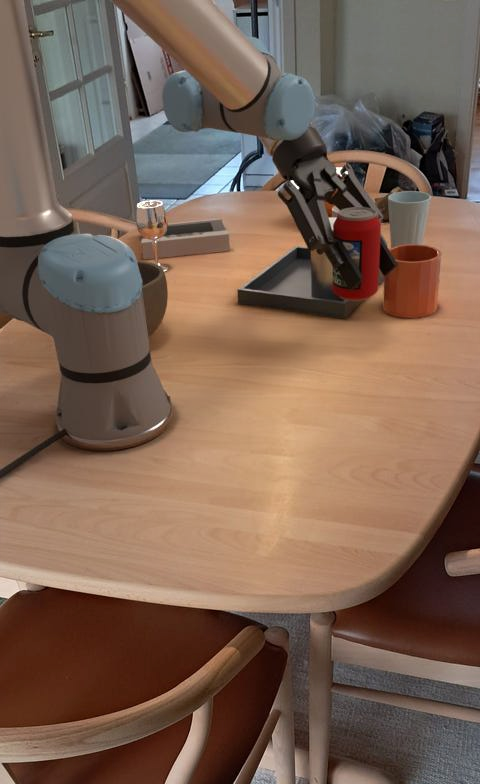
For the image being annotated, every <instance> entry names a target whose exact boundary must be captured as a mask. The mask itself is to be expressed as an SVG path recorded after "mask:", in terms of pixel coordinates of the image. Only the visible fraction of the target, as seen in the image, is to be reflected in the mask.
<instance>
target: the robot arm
mask: <svg viewBox="0 0 480 784" xmlns="http://www.w3.org/2000/svg"><path fill="white" fill-rule="evenodd" d="M109 1H110V2H111V3H112V4H113V5H114V6H115V7H116V8H117V9H118V10H120V11H121V13H123V14H124V15H125V16H126V17H127V18H128V19H129V20H130V21H131V22H133V24H135V26H137V28H139V29H140V30H141V31H142V32H143V33H144V34H146V35H147V36H148V37H149V38H150V39H151V40H152V41H153V42H154V43H155V44H156V45H157V46H158V47H160V49H161V50H163V52H165V53H166V54H167V55H168V56H169V57H170V58H172V60H174V62H176V63H177V64H178V66H180V67H181V68H182V69H184V70H180V71H177V72H173V73H171V74H169V76H168V77H167V78H166V79H165V81H164V84H163V86H162V91H161V99H162V108H163V112H164V115H165V118H166V120H167V121H168V123H169V124H170V125H171V126H172V128H173V129H174V130H176V131H177V132H179V133H189V132H195V133H197V132H199V131H200V130H204V129H212V130H217V131H218V130H219V131H224V132H230V133H235V134H244V135H249V136H254V137H257V138H258V139H259V141H260V142H261V144H262V146H263V148H264V149H265V151H266V153H267V154H268V155H269V156H270V157H272V159H271V161H272V163H273V165H274V166H275V168H276V170H277V171H278V173H279V174H280V176H281V178H282V179H283V180H284V181H285V182H284V184H283V185H282V186H281V188H280V189H279V190H278V191H277V197H278V198H279V199H280V200H281V201H282V202H283V203H284V204H285V206H286V208H287V209H288V211H289V213H290V215H291V218H292V219H293V221H294V223H295V225H296V227H297V229H298V231H299V233H300V235H301V237H302V239H303V241H304V243H305V246H306V247H308V249H309V250H311V251H314V250H315V249H317V250H316V252H317V253H318V254H320V255H322V254H323V253H325V254H326V256H327V258H328V259H329V261H330V263H331V264H332V266H333V267H334V268H335V269H337V270H338V271H339V273H340V275H341V276H342V278H343V280H344V281H345V283H346V285H347V286H348V288H349V289H350V290H352V289H354V288H355V287H356V286H357V285H358V284H359V283H360V282H361V281H362V280H363V279H364V278H363V276H362V274H361V273H360V271H359V269H358V268H357V266H356V265H355V263H354V261H353V260H352V258H351V256H350V255H349V253H348V251H347V250H346V248H345V246H344V245H343V243H342V241H341V240H338V241H336V242H335V243H334V241H335V238H334V235H333V231H332V228H331V224H330V221H329V218H328V214H327V211H326V207H325V204H324V200H326V201H327V202H328V203H329V204H331V205H335V206H336V207H337V208H338V209H339V210H342V209H345V208H351V207H367V208H371V209H374V210H375V211H376V215H377V216H378V218H379V221H380V223H382V221H383V220H384V219H383V218H384V217H383V215H382V213H381V212H380V210H379V209H378V208H377V206H376V205H375V201H373V199H372V198H371V196H370V195H369V193H368V192H367V190H366V189H365V188H364V187H363V185H362V183H361V182H360V180H359V179H358V178H357V177H356V174H355V171H354V170H353V166H352V165H351V164H350V163H348V162H346V163H345V164H344V165H343V166H342V167H340V166H339V167H337V166H336V165H335V164H334V163H333V162H332V161H331V160H330V159H329V158H328V147H327V145H326V143H325V141H324V139H323V137H322V136H321V135H320V133H319V131H318V130H317V128H315V127H313V126H314V125H313V121H312V120H313V117H314V114H315V106H316V103H315V102H316V101H315V94H314V92H313V89H312V86H311V85H310V82H308V80H306V79H305V78H304V77H302V76H299V75H296V74H293V73H291V72H284V73H283V72H282V71H281V69H280V67H279V65H278V62H277V61H276V58H275V57H274V56H273V55H272V54H271V53H270V51H269V50H268V49H267V47H266V46H265V44H264V43H263V41H261V40H260V39H259V38H257V37H254V36H246V35H245V34H244V32H242V30H240V28H239V27H237V25H236V24H235V23H234V22H233V21H232V19H230V18H229V17H228V15H227V14H225V12H224V11H222V9H221V8H220V7H219V6H218V5H217V4H216V2H215V1H214V0H109ZM27 19H28V18H27V12H26V7H25V1H24V0H0V311H2V312H3V313H4V314H5V315H8V316H10V317H12V318H13V319H15V320H17V321H21V322H24V323H26V324H28V325H30V326H32V327H33V328H36V329H37V330H40V331H41V332H43V333H45V334H48V335H50V336H51V337H52V338H53V339H52V340H53V342H54V348H55V351H56V357H57V362H58V366H59V371H60V382H59V391H58V399H57V408H56V415H55V416H56V418H55V422H56V427H57V430H58V432H56V433H54V434H53V435H52V436H50V437H48V438H47V439H45V440H43V441H42V442H40V443H39V444H37V445H36V446H34V447H33V448H32V449H30V450H28V451H27V452H25V453H24V454H22V455H21V456H19V457H18V458H16V459H14V460H13V461H12V462H10V463H8V464H7V465H5V466H4V467H3V468H1V469H0V479H1V478H3V477H4V476H5V475H7V474H8V473H10V472H12V471H13V470H14V469H16V468H17V467H19V466H20V465H22V464H24V463H25V462H27V461H28V460H29V459H31V458H33V457H34V456H36V455H37V454H39V453H40V452H42V451H43V450H44V449H46V448H48V447H49V446H51V445H53V444H54V443H55V442H57V441H59V440H60V439H62V440H63V441H65V442H66V443H67V444H69V445H71V446H74V447H76V448H80V449H83V450H88V451H89V450H90V451H116V450H117V451H118V450H124V449H128V448H132V447H136V446H139V445H142V444H145V443H147V442H149V441H151V440H153V439H155V438H157V437H158V436H160V435H161V434H163V432H165V431H166V430H167V429H168V428H169V426H170V425H171V423H172V421H173V409H172V408H173V407H172V402H171V396H170V395H168V393H167V392H166V390H165V389H164V386H163V384H162V382H161V380H160V377H159V375H158V373H157V371H156V368H155V367H154V365H153V362H152V354H151V349H150V341H149V337H148V332H147V324H146V317H145V309H144V301H143V294H142V278H141V275H140V271H139V267H138V263H137V261H138V260H137V256H136V255H135V252H134V251H133V250H132V248H131V247H130V246H129V245H128V244H127V243H125V242H123V241H121V240H120V239H118V238H115V237H113V236H110V235H104V234H97V235H93V234H92V233H76V231H75V225H74V218H73V215H72V213H71V212H70V211H68V210H67V209H66V208H65V207H64V206H62V205H61V204H60V202H59V201H58V196H57V191H56V184H55V179H54V173H53V167H52V160H51V156H50V150H49V142H48V137H47V132H46V126H45V119H44V113H43V108H42V102H41V101H42V100H41V96H40V90H39V89H40V88H39V84H38V83H39V82H38V78H37V72H36V65H35V60H34V54H33V47H32V42H31V38H30V31H29V25H28V20H27ZM336 190H338V191H337V192H336V193H335V195H333V193H334V192H335V191H336ZM312 236H313V237H314V238H312ZM388 246H389V245H388V242H387V241H386V239H385V238H384V236H383V234H382V233H381V235H380V259H379V269H380V270H381V272H382V274H383V275H384V276H386V275H388V274H389V273H390V272H391V271H392V270H393V269H394V268H395V267H396V266H397V265H398V264H397V262H396V260H395V259H394V257H393V255H392V254H391V252H390V250H389V249H390V248H389V247H388Z"/></svg>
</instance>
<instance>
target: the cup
mask: <svg viewBox="0 0 480 784" xmlns="http://www.w3.org/2000/svg"><path fill="white" fill-rule="evenodd" d="M403 191H404V192H397V193H393V194H391V195H389V196H388V207H389V219H388V221H389V235H390V236H389V237H390V248H393V247H395V246H401V245H410V244H418V245H424V239H425V234H426V228H427V221H428V216H429V210H430V206H431V199H432V195H431V194H429V193H427V192H423V191H417V190H403Z"/></svg>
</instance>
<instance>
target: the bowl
mask: <svg viewBox="0 0 480 784" xmlns="http://www.w3.org/2000/svg"><path fill="white" fill-rule="evenodd" d="M137 263H138V267H139V271H140V275H141V278H142V294H143V301H144V309H145V317H146V324H147V332H148V338H150V337H151V336H152V335H153V334H154V333H155V332H156V331H157V330H158V328H160V325H161V323H162V322H163V320H164V317H165V315H166V311H167V308H168V299H169V298H168V297H169V294H168V293H169V292H168V291H169V290H168V282H167V277H166V274H165V271H164V270H163V269H162V267H161V266H159V265H157V264H155V262H149V261H145V260H137Z"/></svg>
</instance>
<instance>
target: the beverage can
mask: <svg viewBox="0 0 480 784" xmlns="http://www.w3.org/2000/svg"><path fill="white" fill-rule="evenodd" d="M381 223H382V222H380V221H379V218H378V216H377V215H376V211H375V210H374V209H371V208H367V207H351V208H345V209H342V210H340V211H339V212H338V216H337V218H336V220H335V222H334V224H333V235H334V238H335V241H334V243H335V242H336V241H338V240H341V241H342V243H343V245H344V246H345V248H346V250H347V251H348V253H349V255H350V256H351V258H352V260H353V261H354V263H355V265H356V266H357V268H358V269H359V271H360V273H361V274H362V276H363V278H364V279H363V280H362V281H361V282H360V283H359V284H358V285H357V286H356V287H355V288H354V289H352V290H350V289H349V288H348V286H347V285H346V283H345V281H344V280H343V278H342V276H341V275H340V273H339V271H338V270H337V269H335V268H334V267H333V292H334V293H335V294H336V295H338V296H339V297H340V298H342V299H345V300H350V301H360V300H363V301H365V300H367V299H369V298H371V297H372V296H374V295H375V294H376V293H377V292H378V290H379V285H378V278H379V259H380V235H381V234H382V232H381V231H382V230H381V229H382V224H381Z"/></svg>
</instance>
